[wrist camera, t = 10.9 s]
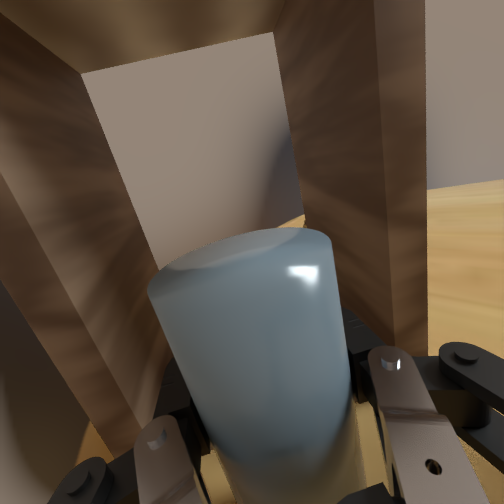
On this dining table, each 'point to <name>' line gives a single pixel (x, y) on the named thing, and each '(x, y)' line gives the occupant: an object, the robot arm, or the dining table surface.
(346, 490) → the grey cylinder
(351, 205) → the open wooden box frame
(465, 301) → the dining table surface
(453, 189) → the dining table surface
